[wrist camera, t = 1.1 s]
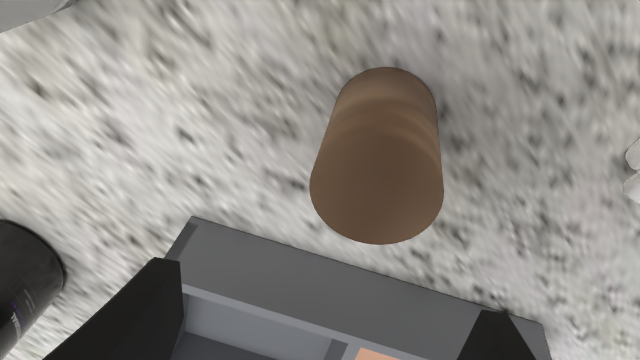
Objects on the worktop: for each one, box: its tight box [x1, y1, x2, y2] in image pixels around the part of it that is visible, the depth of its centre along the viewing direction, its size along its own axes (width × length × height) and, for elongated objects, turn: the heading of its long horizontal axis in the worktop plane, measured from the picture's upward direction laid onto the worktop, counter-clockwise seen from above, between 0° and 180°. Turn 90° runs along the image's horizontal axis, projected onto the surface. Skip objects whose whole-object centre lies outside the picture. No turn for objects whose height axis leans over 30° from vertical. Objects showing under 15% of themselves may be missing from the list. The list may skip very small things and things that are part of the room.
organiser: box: [164, 216, 552, 360], centre depth 26 cm, size 20×10×4 cm, turn 75°
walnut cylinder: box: [309, 67, 444, 245], centre depth 18 cm, size 4×4×6 cm
